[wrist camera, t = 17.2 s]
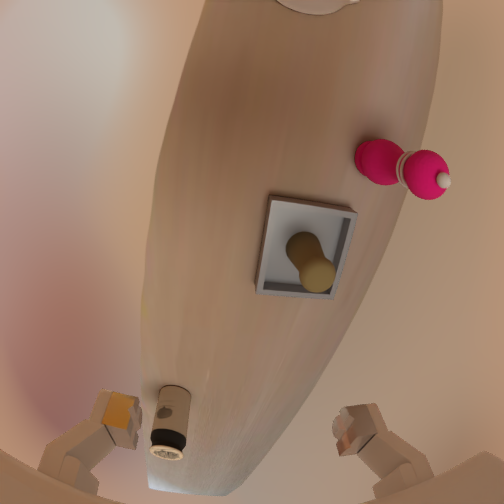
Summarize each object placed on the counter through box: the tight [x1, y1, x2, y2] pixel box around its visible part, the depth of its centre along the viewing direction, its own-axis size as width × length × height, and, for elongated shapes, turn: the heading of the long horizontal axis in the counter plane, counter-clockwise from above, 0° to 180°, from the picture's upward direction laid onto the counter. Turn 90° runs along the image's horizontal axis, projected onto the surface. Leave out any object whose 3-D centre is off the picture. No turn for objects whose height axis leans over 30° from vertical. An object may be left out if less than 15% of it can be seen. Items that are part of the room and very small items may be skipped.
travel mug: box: [150, 386, 191, 460], centre depth 54 cm, size 8×8×18 cm
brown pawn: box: [286, 231, 336, 293], centre depth 42 cm, size 6×6×11 cm
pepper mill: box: [355, 139, 451, 200], centre depth 32 cm, size 7×7×20 cm
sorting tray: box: [255, 195, 358, 300], centre depth 46 cm, size 16×14×4 cm
